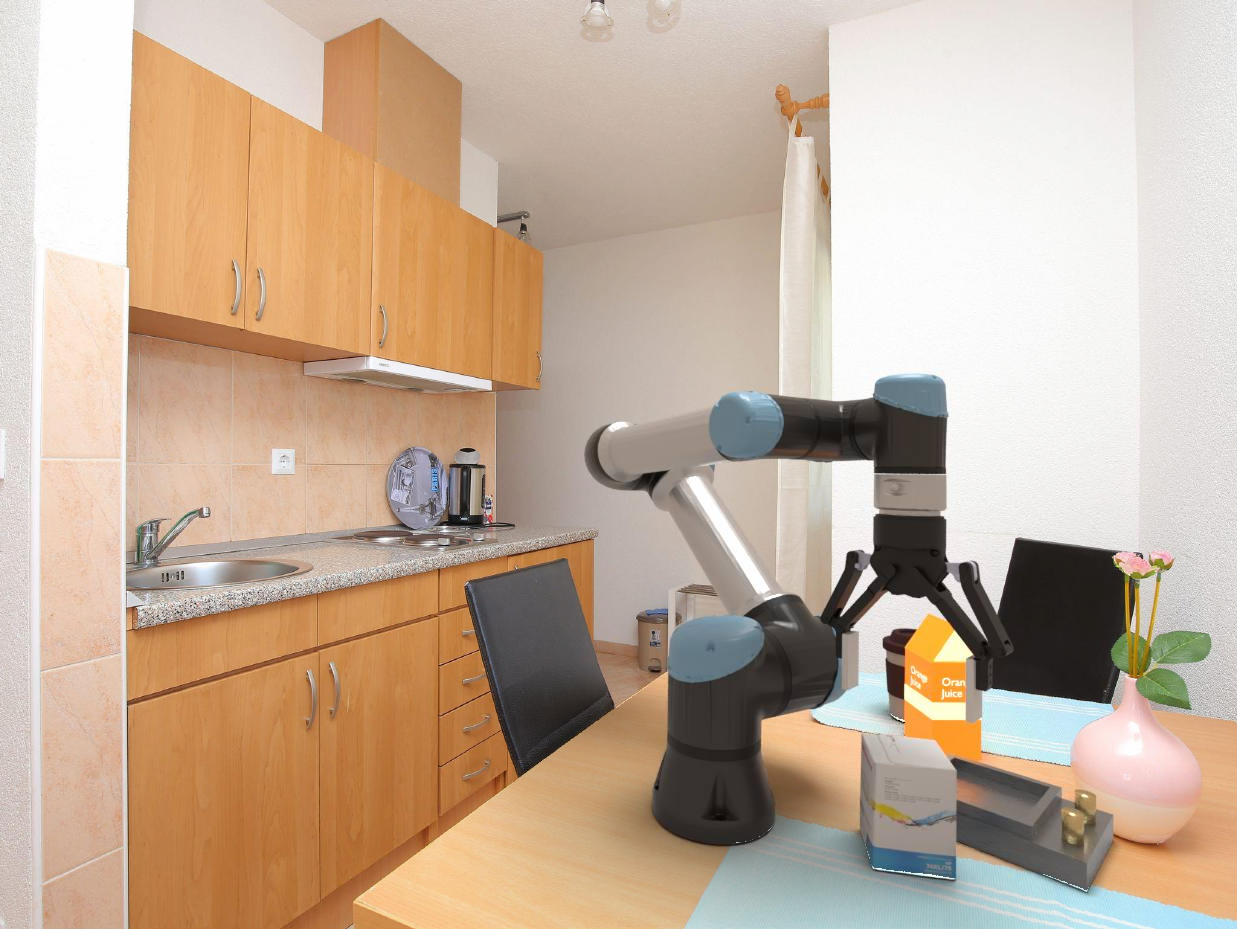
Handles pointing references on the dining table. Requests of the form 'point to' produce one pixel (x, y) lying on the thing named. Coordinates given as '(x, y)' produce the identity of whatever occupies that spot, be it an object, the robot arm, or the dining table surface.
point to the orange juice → (939, 690)
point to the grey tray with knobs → (1030, 822)
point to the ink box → (908, 805)
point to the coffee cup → (896, 668)
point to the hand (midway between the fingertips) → (907, 702)
